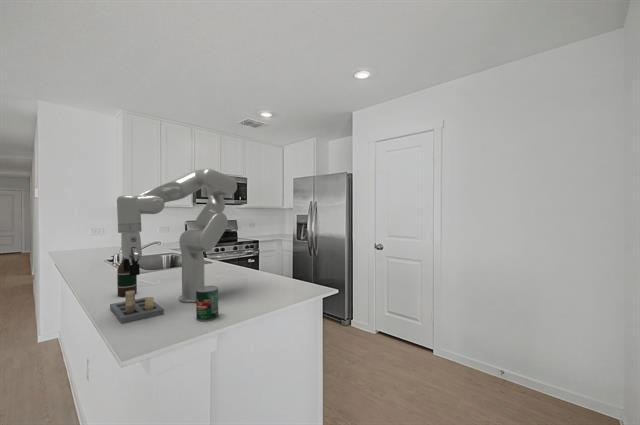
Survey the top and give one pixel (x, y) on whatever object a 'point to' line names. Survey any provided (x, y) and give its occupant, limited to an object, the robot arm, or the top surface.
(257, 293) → the top surface
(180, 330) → the top surface
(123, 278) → the beer bottle
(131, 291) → the beech pin
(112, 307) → the peg board
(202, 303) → the canned tomato
